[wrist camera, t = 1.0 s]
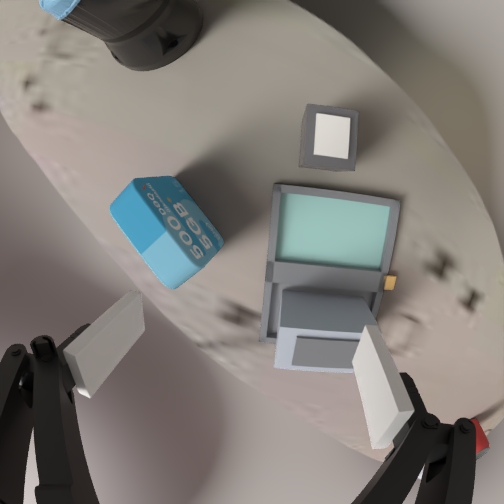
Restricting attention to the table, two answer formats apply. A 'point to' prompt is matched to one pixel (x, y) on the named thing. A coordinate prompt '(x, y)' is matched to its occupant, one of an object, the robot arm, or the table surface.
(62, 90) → the table surface
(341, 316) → the block
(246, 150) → the table surface
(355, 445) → the table surface
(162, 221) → the data package
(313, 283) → the grey flat panel
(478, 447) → the beer can
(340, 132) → the plug
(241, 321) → the table surface
